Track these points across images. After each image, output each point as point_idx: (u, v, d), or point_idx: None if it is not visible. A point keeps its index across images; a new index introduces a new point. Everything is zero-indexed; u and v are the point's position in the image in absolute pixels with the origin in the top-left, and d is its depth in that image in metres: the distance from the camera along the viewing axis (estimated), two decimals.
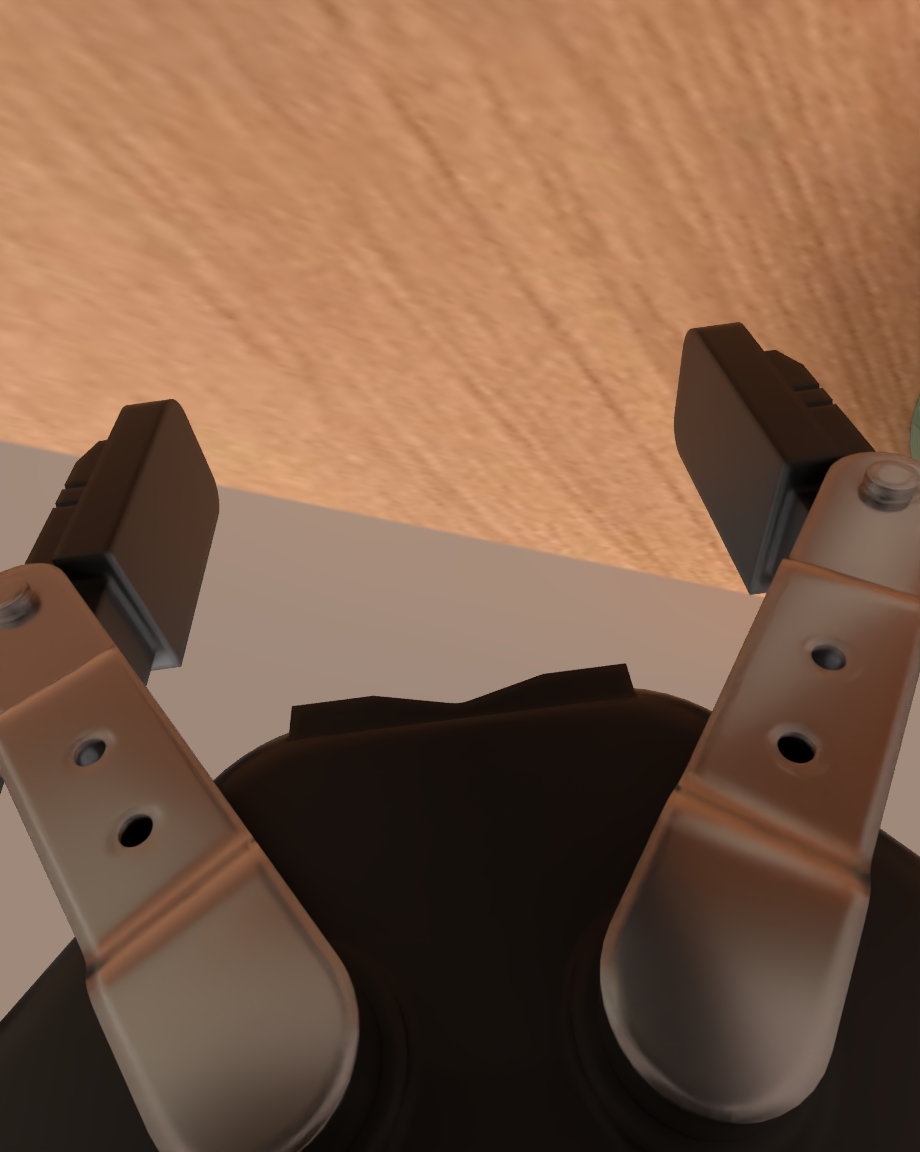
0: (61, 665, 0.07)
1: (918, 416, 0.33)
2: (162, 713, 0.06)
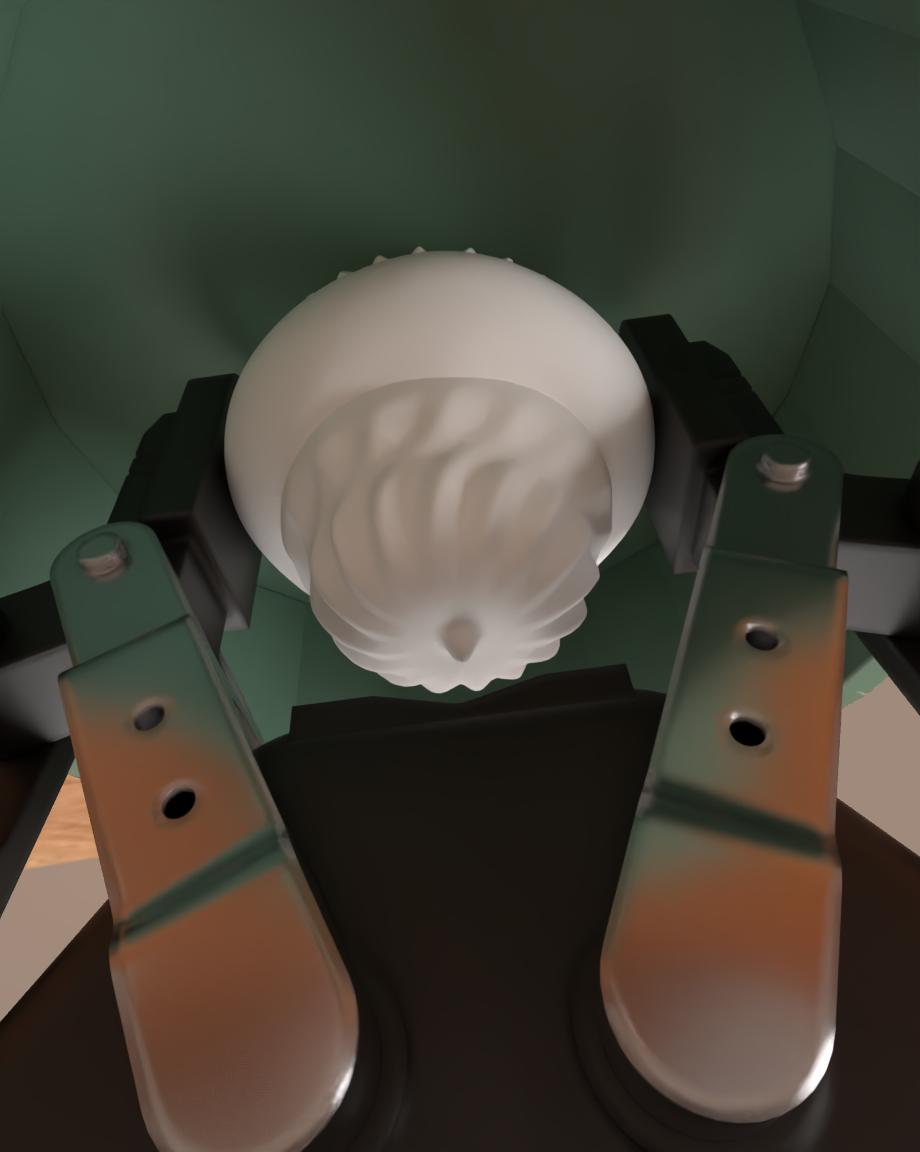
0: (140, 625, 0.07)
1: None
2: (221, 690, 0.06)
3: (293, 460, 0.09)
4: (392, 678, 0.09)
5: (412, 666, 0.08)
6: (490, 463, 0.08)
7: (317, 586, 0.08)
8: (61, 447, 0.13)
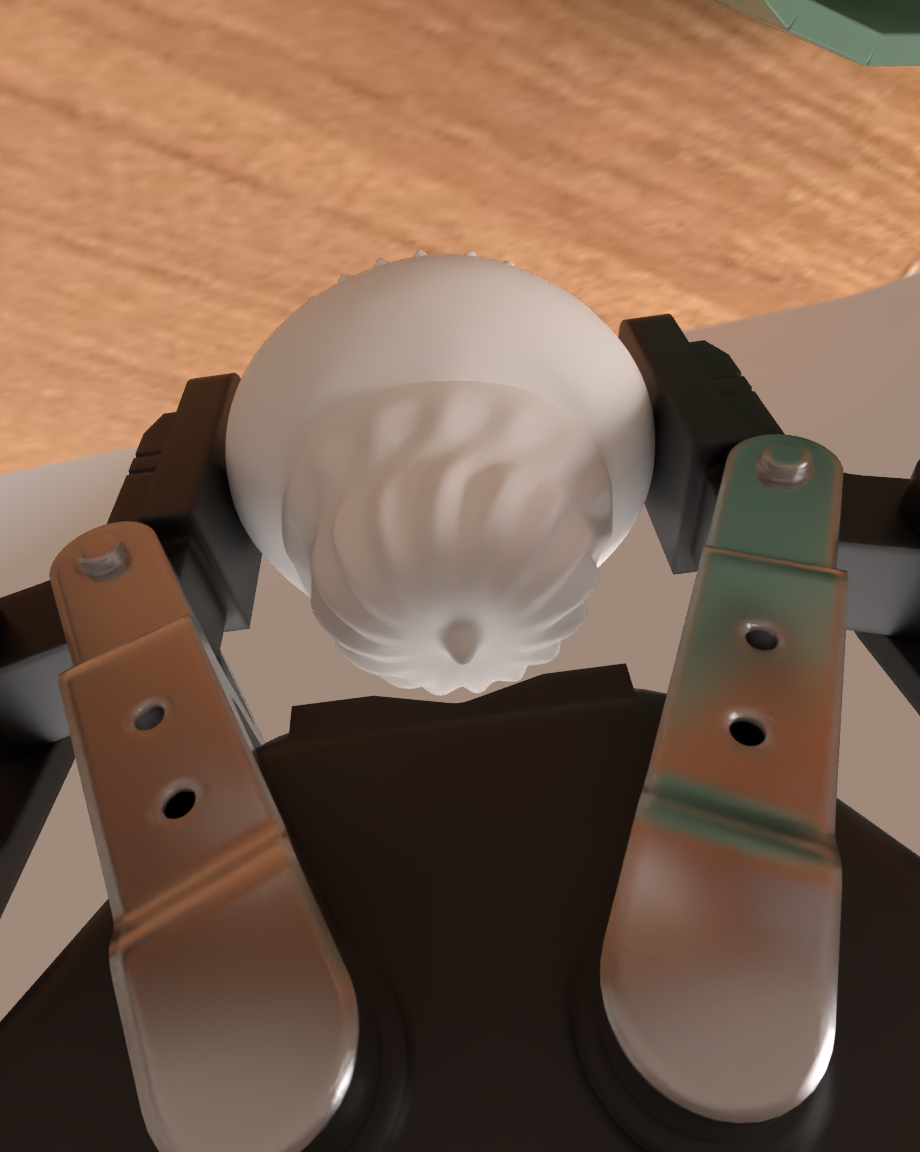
0: (140, 625, 0.07)
1: None
2: (221, 690, 0.06)
3: (294, 463, 0.09)
4: (393, 680, 0.09)
5: (413, 669, 0.08)
6: (490, 467, 0.08)
7: (318, 589, 0.08)
8: None
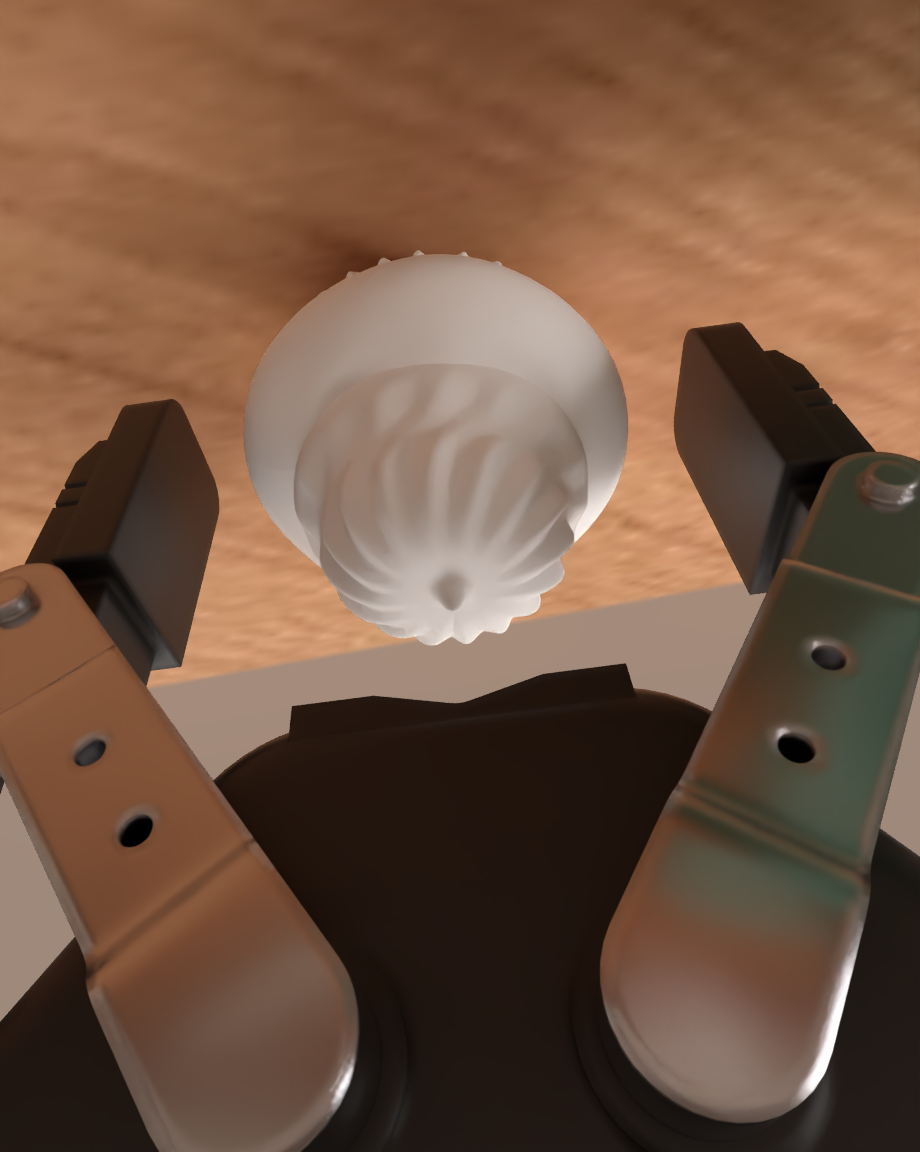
0: (61, 665, 0.07)
1: None
2: (162, 713, 0.06)
3: (306, 436, 0.10)
4: (391, 631, 0.10)
5: (410, 617, 0.10)
6: (477, 438, 0.09)
7: (327, 545, 0.09)
8: None
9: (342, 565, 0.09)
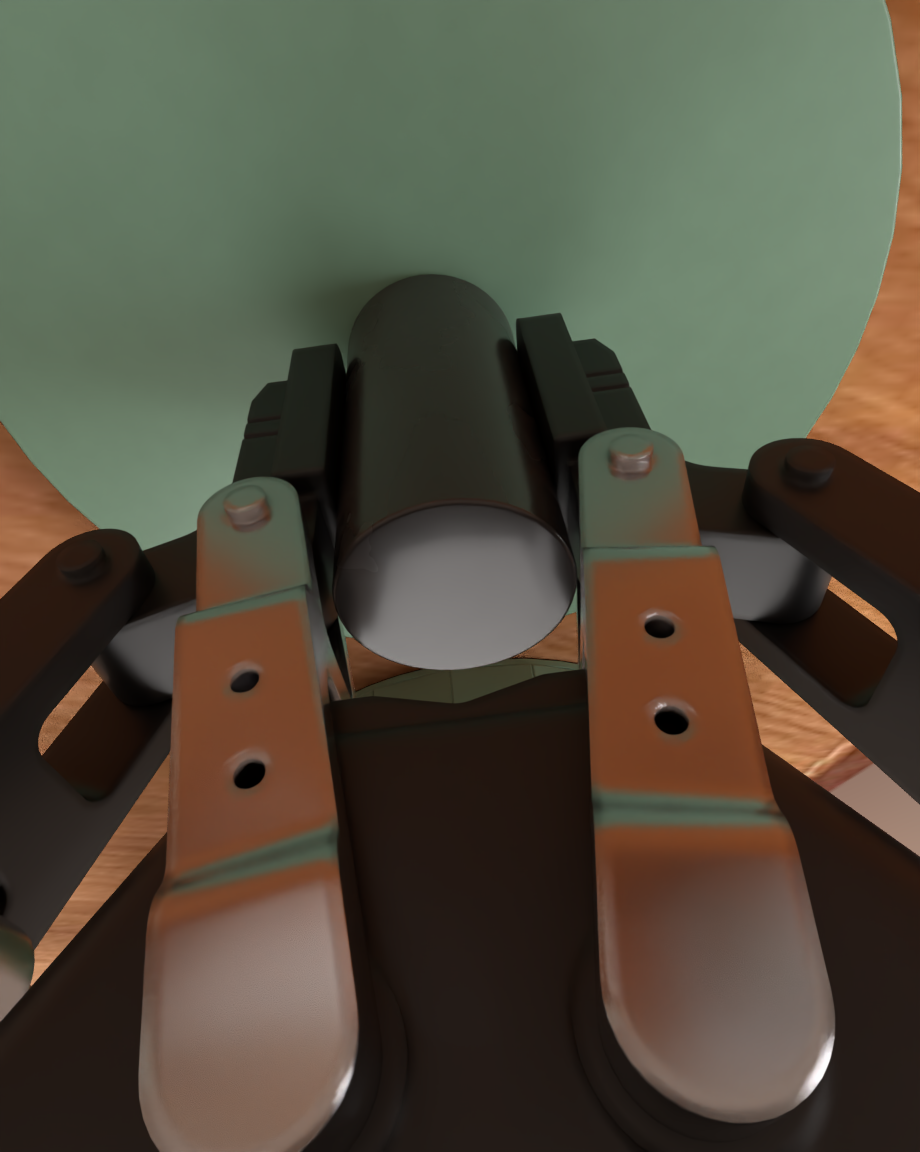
0: (262, 582, 0.08)
1: None
2: (314, 670, 0.06)
3: None
4: None
5: None
6: None
7: None
8: None
9: None
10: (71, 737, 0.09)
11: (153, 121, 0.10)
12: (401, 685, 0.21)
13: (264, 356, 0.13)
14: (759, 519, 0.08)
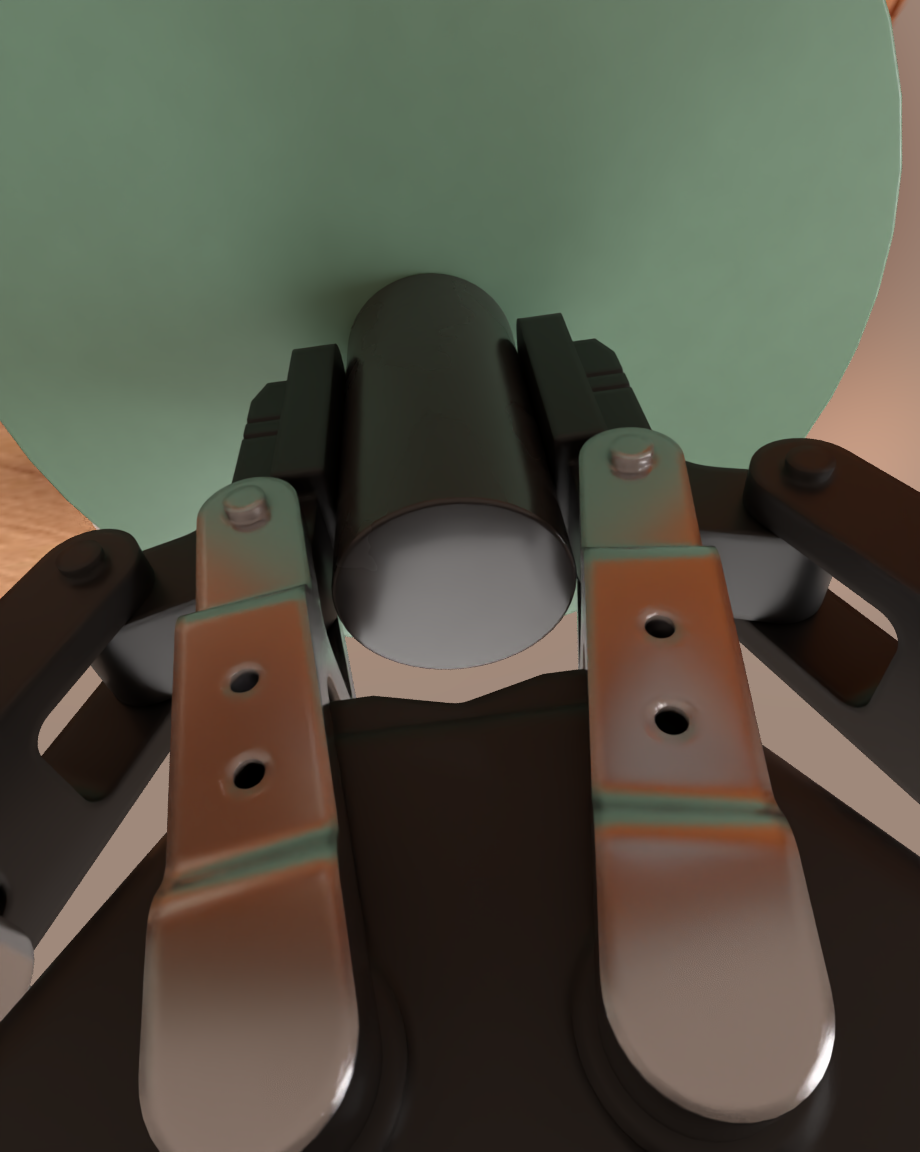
0: (262, 582, 0.08)
1: None
2: (313, 670, 0.06)
3: None
4: None
5: None
6: None
7: None
8: None
9: None
10: (70, 737, 0.09)
11: (153, 120, 0.10)
12: None
13: (264, 356, 0.13)
14: (760, 519, 0.08)
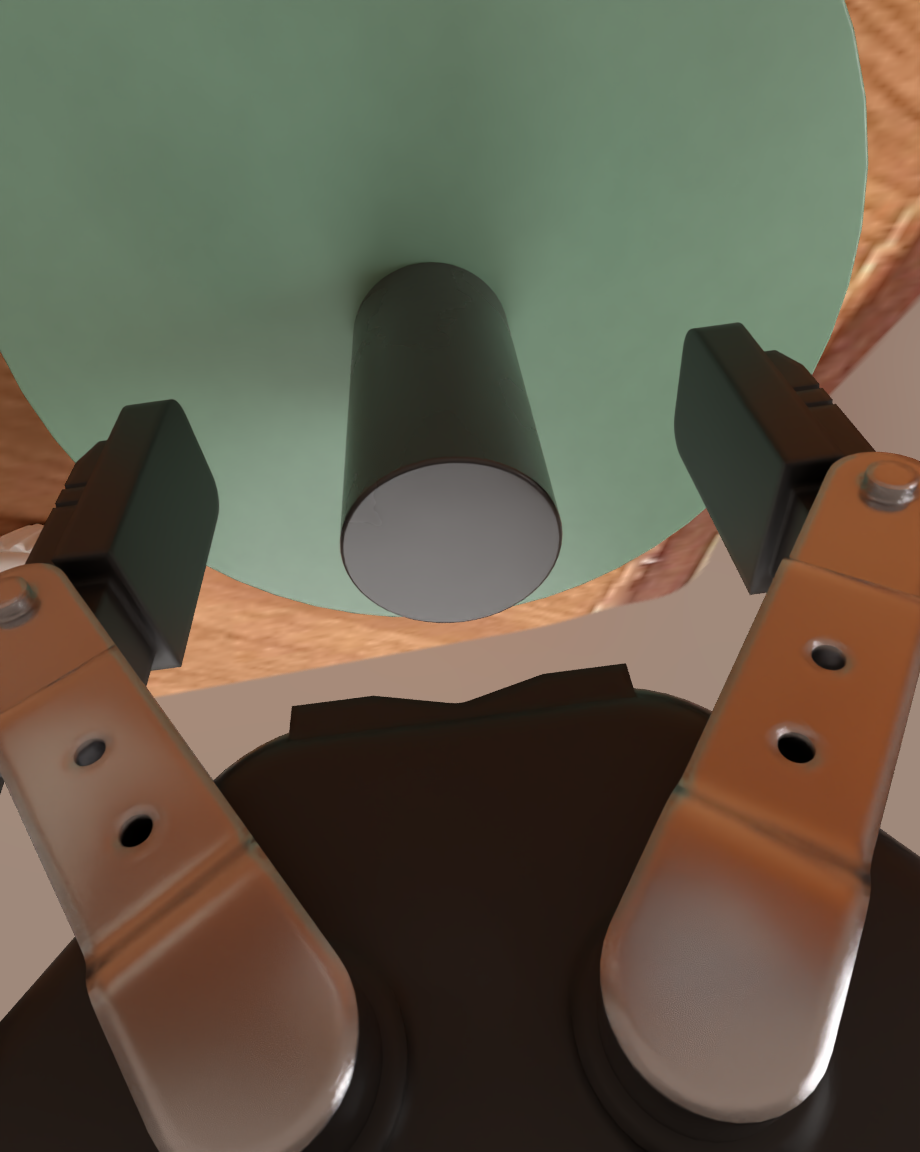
0: (61, 665, 0.07)
1: None
2: (162, 713, 0.06)
3: None
4: None
5: None
6: None
7: None
8: None
9: None
10: None
11: (176, 117, 0.11)
12: None
13: (275, 339, 0.14)
14: None
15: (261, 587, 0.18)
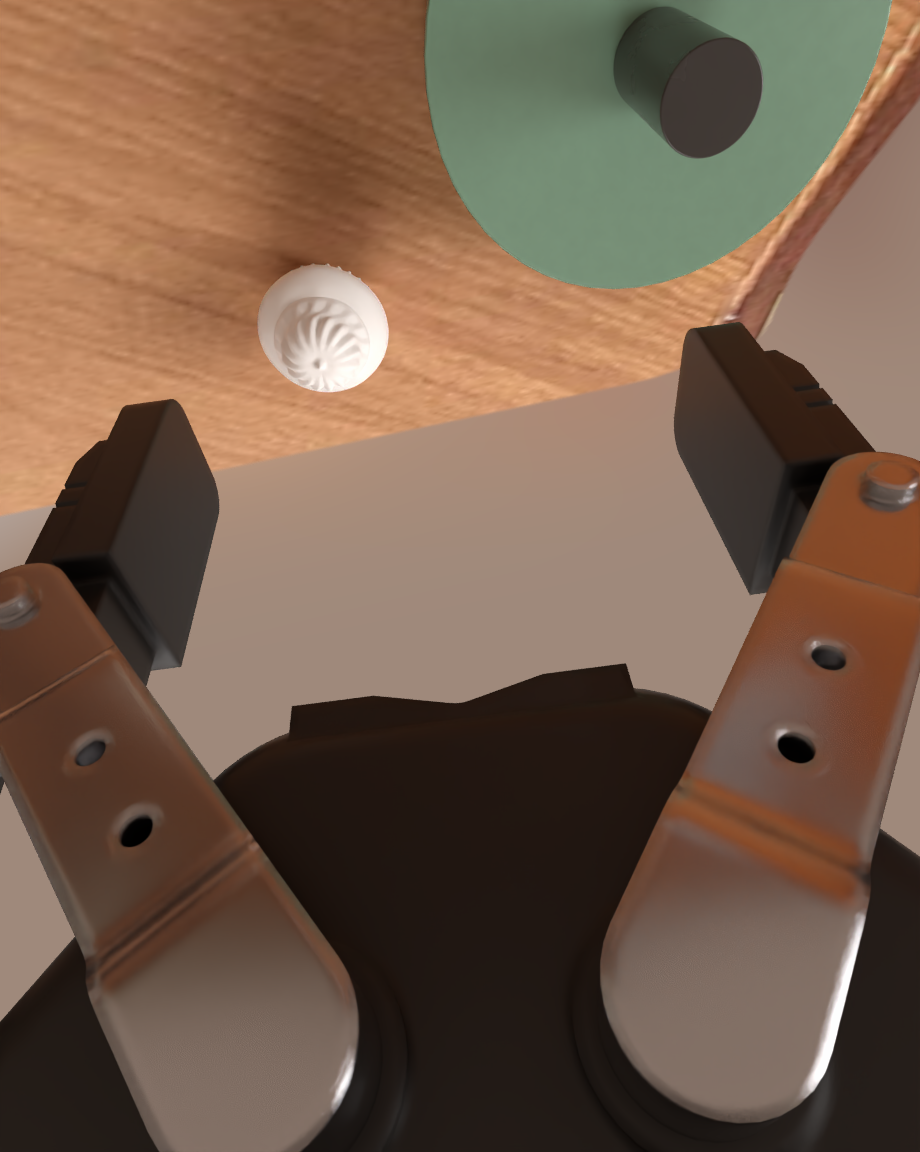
0: (61, 665, 0.07)
1: None
2: (161, 713, 0.06)
3: (277, 320, 0.32)
4: (304, 382, 0.33)
5: (308, 374, 0.32)
6: (325, 317, 0.31)
7: (283, 350, 0.32)
8: None
9: (287, 356, 0.32)
10: None
11: None
12: None
13: (572, 58, 0.25)
14: None
15: (516, 256, 0.29)
